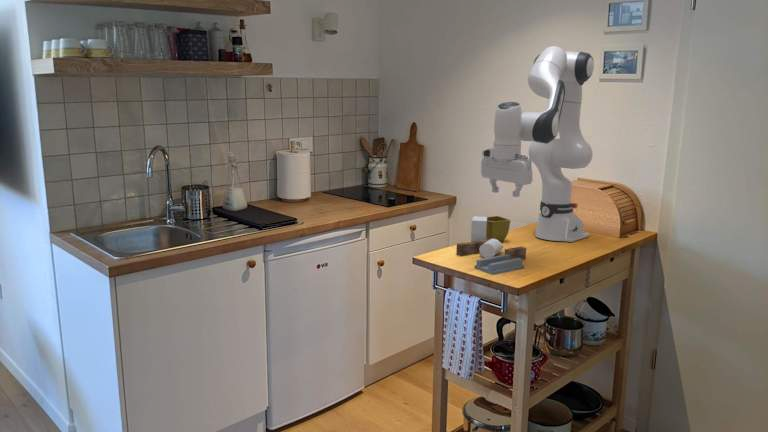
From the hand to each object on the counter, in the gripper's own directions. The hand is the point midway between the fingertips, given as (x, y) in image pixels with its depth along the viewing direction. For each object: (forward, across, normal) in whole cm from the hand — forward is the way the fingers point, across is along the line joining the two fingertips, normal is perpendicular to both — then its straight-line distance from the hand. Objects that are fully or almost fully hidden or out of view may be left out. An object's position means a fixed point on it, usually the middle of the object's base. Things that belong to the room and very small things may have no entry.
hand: (505, 194), depth 204 cm
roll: (+24, +10, -5) cm, 26 cm away
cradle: (+23, -4, +6) cm, 25 cm away
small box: (+24, +22, -9) cm, 34 cm away
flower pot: (+25, +24, -19) cm, 39 cm away
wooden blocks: (+24, +15, -1) cm, 28 cm away
